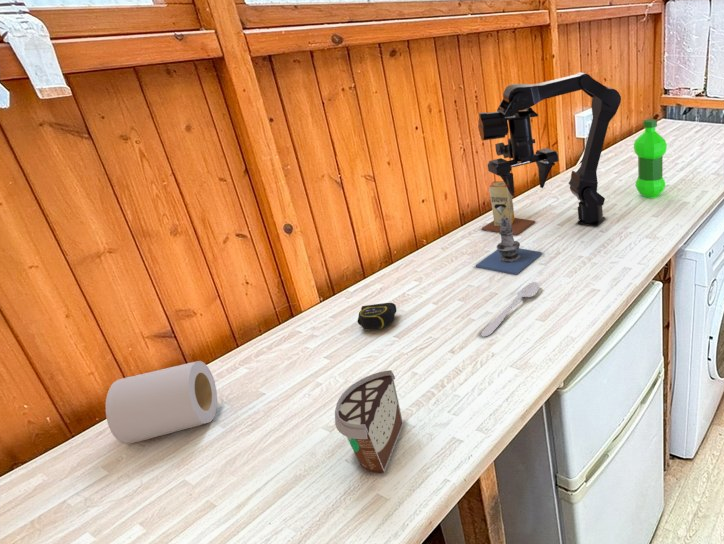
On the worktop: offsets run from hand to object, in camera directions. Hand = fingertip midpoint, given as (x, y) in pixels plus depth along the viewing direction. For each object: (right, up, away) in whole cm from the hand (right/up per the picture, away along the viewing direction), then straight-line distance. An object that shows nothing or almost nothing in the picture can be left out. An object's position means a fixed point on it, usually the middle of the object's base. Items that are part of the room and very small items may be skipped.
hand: (527, 191), depth 142 cm
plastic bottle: (+36, +2, +32) cm, 48 cm away
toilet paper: (-46, -44, -58) cm, 86 cm away
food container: (-12, -45, -64) cm, 79 cm away
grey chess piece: (-3, -18, -9) cm, 20 cm away
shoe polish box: (-9, -8, +13) cm, 18 cm away
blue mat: (-3, -19, -9) cm, 21 cm away
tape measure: (-26, -31, -33) cm, 52 cm away
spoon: (+2, -29, -31) cm, 42 cm away
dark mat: (-8, -9, +12) cm, 17 cm away
